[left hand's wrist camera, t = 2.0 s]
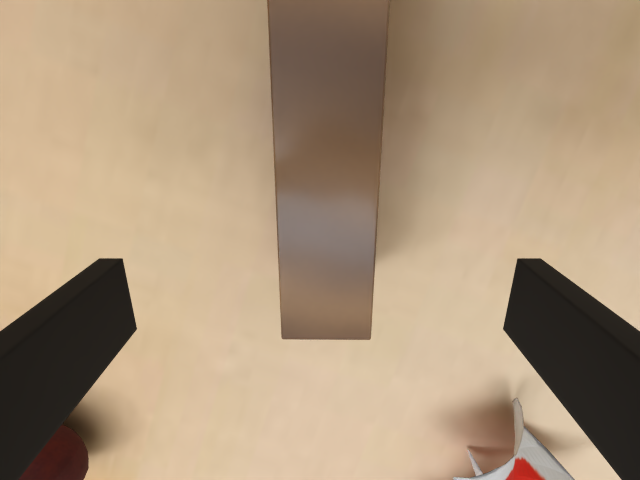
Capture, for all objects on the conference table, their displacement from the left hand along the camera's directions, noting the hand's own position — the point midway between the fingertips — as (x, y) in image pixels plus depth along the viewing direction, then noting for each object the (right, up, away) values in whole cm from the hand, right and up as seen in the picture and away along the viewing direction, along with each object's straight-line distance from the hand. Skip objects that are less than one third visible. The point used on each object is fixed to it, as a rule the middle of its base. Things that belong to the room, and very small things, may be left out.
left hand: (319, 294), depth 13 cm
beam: (0, +24, +5) cm, 24 cm away
